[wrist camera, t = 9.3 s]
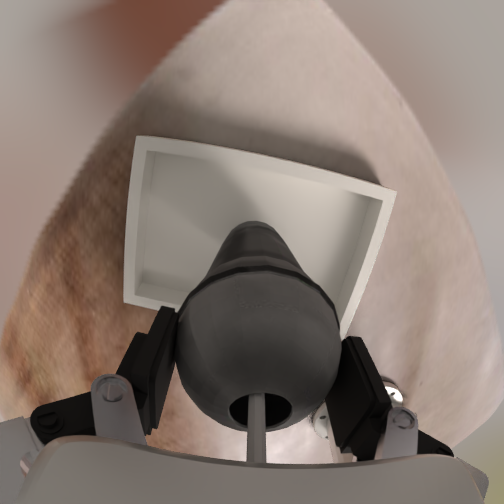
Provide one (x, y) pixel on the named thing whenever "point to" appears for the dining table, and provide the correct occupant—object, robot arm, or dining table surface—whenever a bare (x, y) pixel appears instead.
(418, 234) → the dining table surface
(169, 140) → the tray
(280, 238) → the beverage cup
